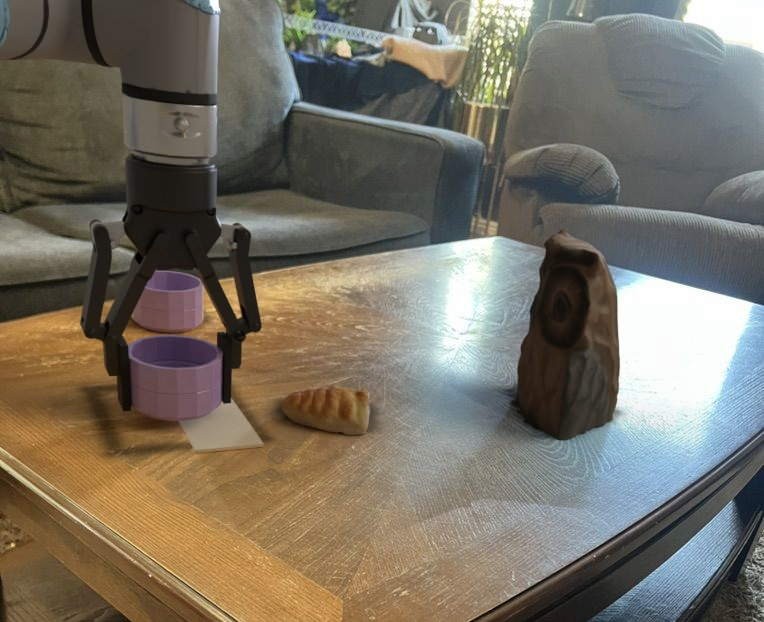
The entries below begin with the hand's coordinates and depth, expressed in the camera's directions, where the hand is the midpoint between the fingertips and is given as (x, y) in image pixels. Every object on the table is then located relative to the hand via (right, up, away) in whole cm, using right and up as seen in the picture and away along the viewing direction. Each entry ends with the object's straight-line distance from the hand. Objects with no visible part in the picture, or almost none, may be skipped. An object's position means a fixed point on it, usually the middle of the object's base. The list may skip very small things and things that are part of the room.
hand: (175, 401), depth 77 cm
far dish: (-8, +14, +25) cm, 30 cm away
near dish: (0, 0, 0) cm, 0 cm away
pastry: (+15, -1, +6) cm, 16 cm away
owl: (+42, 0, +15) cm, 45 cm away
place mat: (0, -2, +1) cm, 2 cm away
